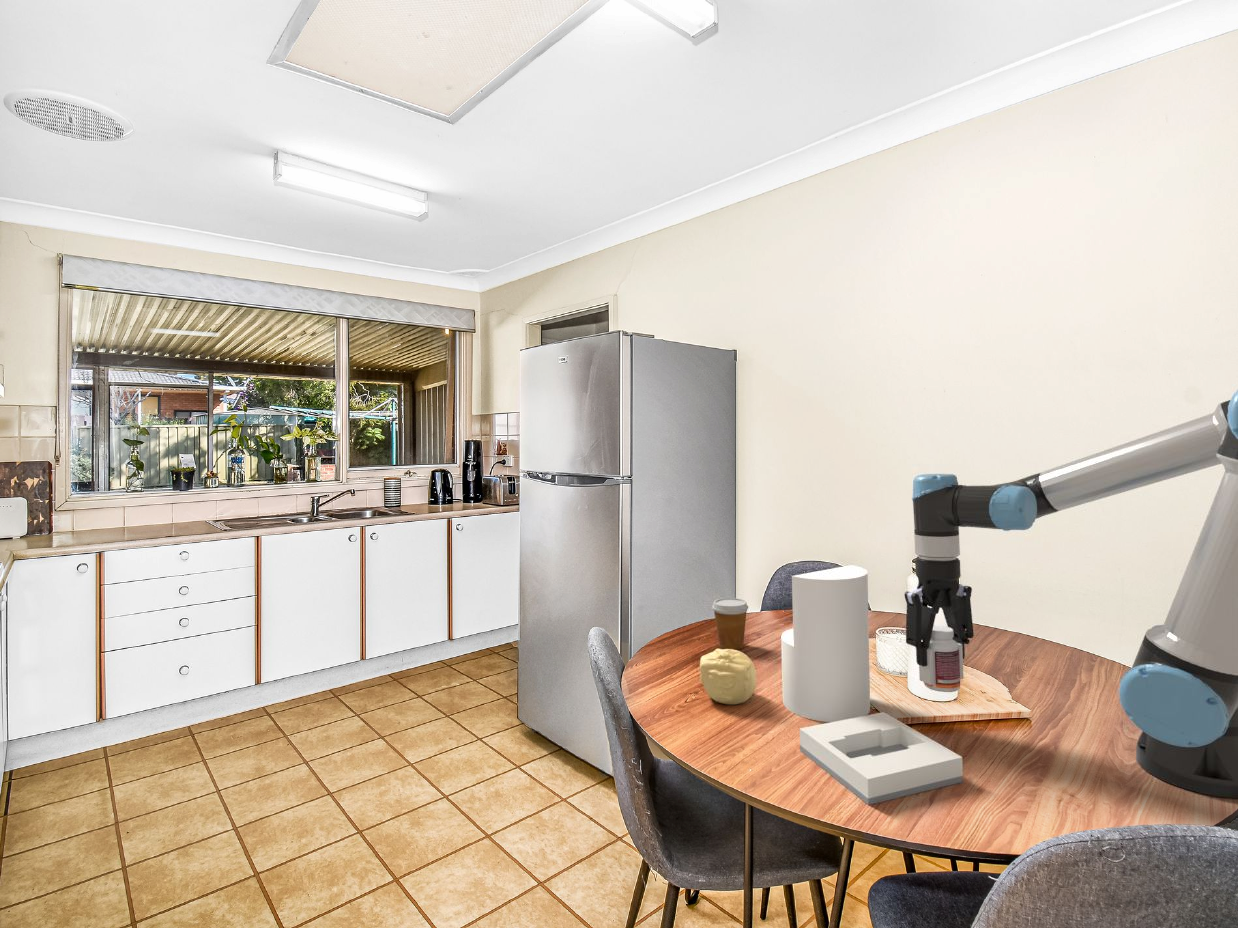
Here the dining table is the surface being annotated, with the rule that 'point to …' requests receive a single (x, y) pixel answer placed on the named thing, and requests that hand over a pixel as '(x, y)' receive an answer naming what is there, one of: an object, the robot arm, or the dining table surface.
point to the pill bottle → (944, 660)
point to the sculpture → (728, 676)
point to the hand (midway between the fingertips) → (941, 679)
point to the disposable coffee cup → (730, 622)
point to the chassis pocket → (880, 757)
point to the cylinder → (828, 646)
